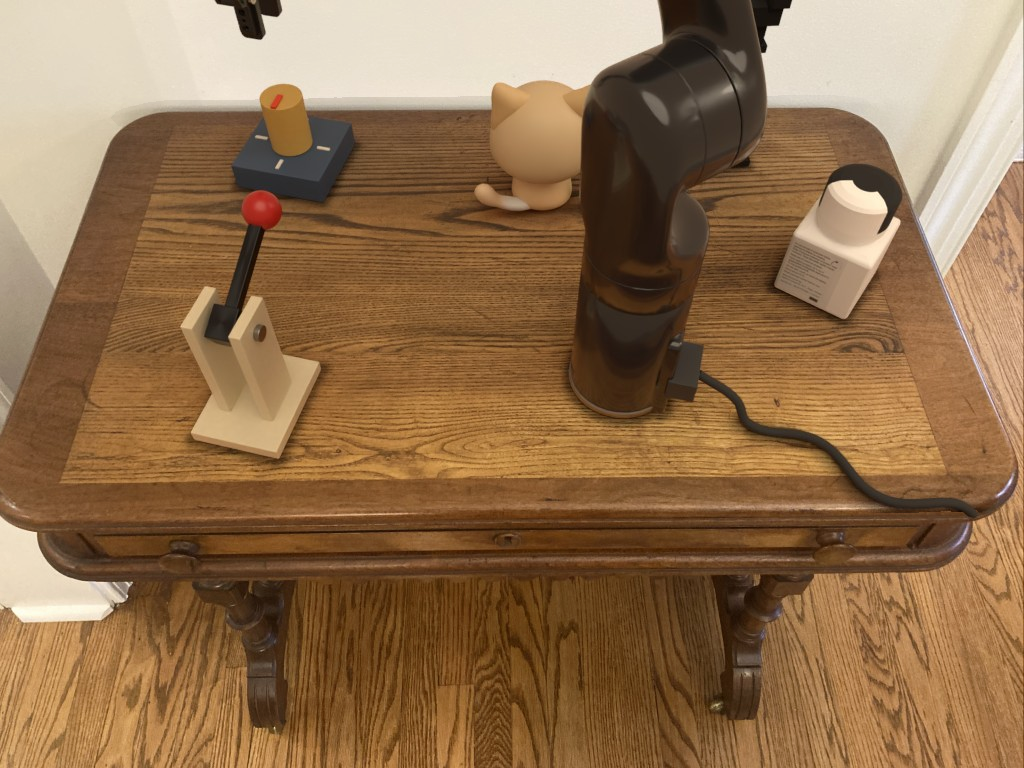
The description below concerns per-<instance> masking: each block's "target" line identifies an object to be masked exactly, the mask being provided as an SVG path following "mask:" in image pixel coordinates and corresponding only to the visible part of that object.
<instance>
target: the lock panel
mask: <svg viewBox="0 0 1024 768" xmlns="http://www.w3.org/2000/svg"><path fill="white" fill-rule="evenodd" d="M307 117H308V122H309V126H310V131H311V135H312V140H313V143H312V146H311V147H310V149H309V150H308V151H306V152H305V153H303V154H300V155H297V156H283V155H280V154H278V153H276V152H275V151H274V150H273V148H272V145H271V141H270V137H269V134H268V130H267V126H266V123H265V119H264V115H263V116H262V118H261V119H260V121H259V122H258V124H257V125H256V127H255V128H254V130H253V131H252V133H251V134H250V135H249V138H248V139H247V140H246V142H245V144H244V145H243V146H242V148H241V150H240V151H239V152H238V155H237V156H236V157H235V159H234V160H233V162H232V164H231V165H230V167H231V170H232V173H233V176H234V179H235V183H236V185H237V187H238V188H243V189H246V190H247V189H248V190H254V191H259V190H263V191H267V192H270V193H272V194H273V195H280V196H285V197H291V198H296V199H302V200H307V201H313V202H318V203H325V200H326V199H327V197H328V195H329V194H330V191H331V189H332V188H333V186H334V184H335V182H336V180H337V178H338V177H339V176H340V173H341V171H342V169H343V168H344V166H345V164H346V162H347V160H348V158H349V157H350V155H351V154H352V151H353V150H354V147H355V146H356V141H355V136H354V129H353V123H352V122H347V121H341V120H336V119H329V118H324V117H318V116H312V115H307Z"/></svg>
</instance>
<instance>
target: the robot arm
mask: <svg viewBox="0 0 1024 768" xmlns="http://www.w3.org/2000/svg"><path fill="white" fill-rule="evenodd" d="M214 2H215V4H217V5H219V6H227V7H233V10H234V14H235V18H236V21H237V24H238V28H239V32H240V34H241V35H242V37H244V38H246V39H251V40H252V39H253V40H256V41H257V40H258V41H261V40H263V39H264V37H265V36H266V34H267V31H266V26H265V23H264V19H263V16H266V17H272V18H278V17H280V15H281V14H282V12H283V7H282V3H281V0H214ZM656 2H657V6H658V11H659V17H660V24H661V36H662V43H660V44H658V45H655V46H653V47H651V48H649V49H646V50H644V51H641V52H638V53H637V54H634V55H631V56H629V57H627V58H625V59H621V60H620V61H617V62H616V63H613V64H611V65H609V66H607V67H605V68H604V69H602V70H601V71H599V72H598V73H597V74H596V75H595V76H594V78H593V80H592V81H591V83H590V84H591V85H590V84H589V85H590V87H589V89H588V92H587V95H586V98H585V102H584V106H583V113H582V123H581V157H580V173H579V187H578V188H579V191H578V193H579V194H578V196H579V197H578V199H579V207H580V213H581V218H582V222H583V227H584V238H583V245H582V246H583V248H582V257H581V264H580V274H579V282H578V283H579V284H578V293H577V301H576V309H575V320H574V329H573V337H572V348H571V353H570V359H569V365H568V366H569V367H568V381H569V384H570V387H571V389H572V391H573V393H574V395H575V396H576V397H577V398H578V400H579V401H580V402H581V403H582V404H583V405H584V406H585V407H588V408H589V409H590V410H592V411H594V412H596V413H597V414H600V415H603V416H604V417H605V416H606V417H610V418H616V419H631V418H638V417H641V416H644V415H647V414H648V413H650V412H656V413H664V412H665V410H666V407H667V403H668V400H669V399H673V400H677V401H678V400H679V401H683V402H689V403H693V402H694V400H695V397H696V393H697V390H698V388H699V387H698V386H699V382H701V383H703V384H705V385H706V386H708V387H710V388H711V389H713V390H715V391H717V392H719V393H720V394H721V395H723V396H724V397H725V398H727V399H728V400H729V401H730V402H731V403H732V404H733V406H734V407H735V410H736V415H737V418H738V420H739V421H740V423H741V424H742V426H743V427H745V428H747V429H748V430H750V431H751V432H753V433H755V434H758V435H762V436H765V437H772V438H781V439H792V440H799V441H805V442H807V443H811V444H813V445H815V446H817V447H818V448H820V449H821V450H823V451H824V452H825V453H827V454H828V455H829V456H830V457H831V458H832V459H833V461H834V462H835V463H836V464H837V465H838V467H839V468H840V469H841V471H842V472H843V473H844V474H845V476H846V477H847V478H848V479H849V480H850V482H851V483H852V484H853V485H854V486H855V487H856V488H857V489H858V490H859V491H860V492H861V493H863V494H864V495H865V496H866V497H868V498H869V499H871V500H873V501H875V502H876V503H878V504H882V505H885V506H887V507H891V508H895V509H896V508H897V509H903V510H924V509H938V508H939V509H941V508H944V509H945V508H946V509H954V510H959V511H960V512H962V513H964V515H965V516H967V517H968V518H971V519H977V517H978V516H979V515H978V512H977V510H976V509H975V508H974V507H973V506H972V505H971V504H969V503H967V502H966V501H964V500H963V499H959V498H955V497H926V498H902V497H901V498H900V497H895V496H892V495H889V494H885V493H883V492H880V491H879V490H878V489H876V488H874V487H873V486H871V485H870V484H869V483H868V482H867V481H865V479H864V478H862V476H861V475H860V474H859V473H858V472H857V470H856V469H855V468H854V467H853V465H852V464H851V463H850V461H849V460H848V459H847V458H846V457H845V455H844V454H843V453H842V452H841V451H840V450H839V449H838V448H837V447H836V446H835V445H833V444H832V443H831V442H830V441H828V440H827V439H825V438H823V437H822V436H819V435H818V434H815V433H813V432H810V431H806V430H801V429H796V428H782V427H774V426H773V427H772V426H767V425H763V424H760V423H758V422H756V421H754V420H753V419H752V418H750V417H749V415H748V412H747V408H746V404H745V403H744V401H743V399H742V398H741V396H739V394H738V393H736V392H735V391H734V390H733V389H732V388H731V387H729V386H728V385H727V384H726V383H723V382H722V381H720V380H719V379H717V378H715V377H713V376H712V375H710V374H708V373H706V372H705V371H704V370H702V369H701V366H702V360H703V354H704V349H705V346H704V344H698V343H693V342H689V341H684V340H685V335H686V334H685V333H686V328H687V322H688V318H689V314H690V311H691V307H692V304H693V300H694V297H695V293H696V290H697V285H698V282H699V278H700V274H701V272H702V271H701V270H702V267H703V264H704V260H705V256H706V253H707V249H708V247H709V242H710V236H711V233H710V232H711V226H710V221H709V217H708V215H707V212H706V211H705V209H704V207H703V206H702V205H701V203H700V202H699V201H698V200H697V199H696V198H695V197H694V196H693V195H691V194H690V193H689V192H687V191H688V190H691V189H692V188H694V187H696V186H698V185H700V184H702V183H704V182H706V181H708V180H710V179H712V178H714V177H715V176H718V175H719V174H721V173H723V172H725V171H727V170H729V169H731V167H732V168H734V167H733V166H735V165H736V164H738V163H740V162H741V161H743V160H744V159H746V158H747V157H748V156H749V157H750V156H751V155H752V154H753V153H754V152H755V151H756V149H757V148H758V146H759V144H760V143H761V140H762V138H763V136H764V133H765V130H766V124H767V118H768V91H767V81H766V80H767V79H766V72H765V66H764V59H763V55H762V54H763V53H761V49H760V44H759V39H758V33H757V29H756V24H755V19H754V14H753V9H752V4H751V0H656Z"/></svg>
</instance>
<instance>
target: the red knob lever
mask: <svg viewBox="0 0 1024 768" xmlns="http://www.w3.org/2000/svg"><path fill="white" fill-rule="evenodd" d="M275 195H276V194H274V193H270V192H267V191H263V190H259V191H258V190H254V191H252V192H250V193H248V194H247V195H246V196H245V197H244V199H243V201H242V204H241V209H240V211H241V215H242V218H243V220H244V221H245V223H246V224H247V228H246V231H245V235H244V238H243V242H242V245H241V249H240V251H239V254H238V258H237V261H236V265H235V268H234V272H233V276H232V278H231V283H230V286H229V289H228V292H227V295H226V298H225V303H224V304H223V305H220V304H214V305H213V308H212V311H211V315H210V318H209V321H208V325H207V328H206V331H205V335H204V337H205V338H207V339H209V340H211V341H213V342H214V343H216V344H220V345H224V346H229V347H232V345H231V343H230V340H229V338H228V336H229V334H230V333H231V331H232V329H233V327H234V326H235V324H236V322H237V320H238V319H239V317H240V315H241V313H242V311H243V309H244V305H245V301H246V298H247V294H248V291H249V288H250V284H251V280H252V279H253V274H254V271H255V267H256V263H257V260H258V256H259V254H260V250H261V248H262V243H263V241H264V236H265V233H266V231H268V230H271V229H273V228H275V227H276V226H277V225H278V224H279V223H280V221H281V219H282V217H283V208H282V207H283V206H282V204H281V202H280V200H279V198H278V197H277V196H275Z"/></svg>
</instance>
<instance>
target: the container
mask: <svg viewBox="0 0 1024 768" xmlns="http://www.w3.org/2000/svg"><path fill="white" fill-rule="evenodd" d="M902 201H903V190H902V187H901V186H900V183H899V182H898V181H897V179H896V178H895V177H894V176H893V175H892V174H890V173H889V172H888V171H886V170H884V169H882V168H880V167H878V166H875V165H872V164H868V163H850V164H846V165H843V166H840V167H838V168H836V169H835V170H834V171H833V172H831V174H830V175H829V177H828V179H827V181H826V183H825V186H824V189H823V191H822V193H821V194H820V196H819V197H818V199H816V201H815V203H814V204H813V205H812V207H811V208H810V210H809V211H808V212H807V214H806V215H805V217H804V218H803V219H802V221H801V222H800V223H799V225H798V226H797V227H796V229H795V230H794V231H793V234H792V236H791V239H790V241H789V244H788V246H787V249H786V252H785V254H784V257H783V260H782V263H781V265H780V266H779V270H778V272H777V276H776V278H775V280H774V287H775V288H776V289H778V290H780V291H783V292H785V293H787V294H789V295H791V296H793V297H795V298H797V299H800V300H801V301H803V302H805V303H808V304H810V305H812V306H814V307H816V308H818V309H820V310H822V311H825V312H826V313H828V314H831V315H833V316H835V317H837V318H839V319H841V320H846V319H847V318H848V317H849V315H850V314H851V312H852V311H853V309H854V307H856V304H857V302H858V301H859V299H860V298H861V296H862V295H863V294H864V292H865V290H866V289H867V287H868V285H869V283H870V282H871V280H872V279H873V277H874V276H875V274H876V272H877V270H878V268H879V266H880V264H881V262H882V261H883V259H884V257H885V254H886V252H887V251H888V249H889V247H890V245H891V243H892V241H893V239H894V237H895V235H896V233H897V231H898V229H899V227H900V226H901V220H900V218H898V217H896V216H895V215H896V213H897V211H898V209H899V207H900V205H901V203H902Z"/></svg>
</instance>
